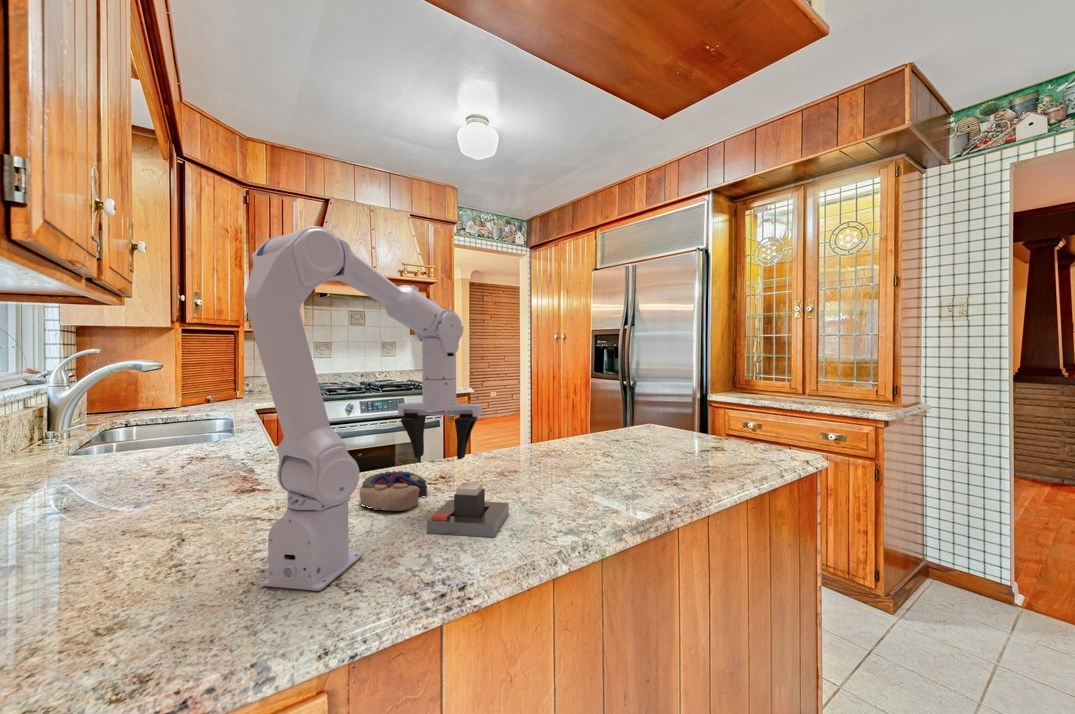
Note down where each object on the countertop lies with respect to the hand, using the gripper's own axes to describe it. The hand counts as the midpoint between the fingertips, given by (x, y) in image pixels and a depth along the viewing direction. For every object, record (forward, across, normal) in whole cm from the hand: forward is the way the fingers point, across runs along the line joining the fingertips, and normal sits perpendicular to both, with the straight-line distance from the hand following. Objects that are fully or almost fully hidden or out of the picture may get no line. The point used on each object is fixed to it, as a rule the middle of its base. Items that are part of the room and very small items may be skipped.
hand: (439, 457), depth 77 cm
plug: (+10, -6, +2) cm, 12 cm away
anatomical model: (+11, +12, -7) cm, 18 cm away
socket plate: (+10, -6, +2) cm, 12 cm away
